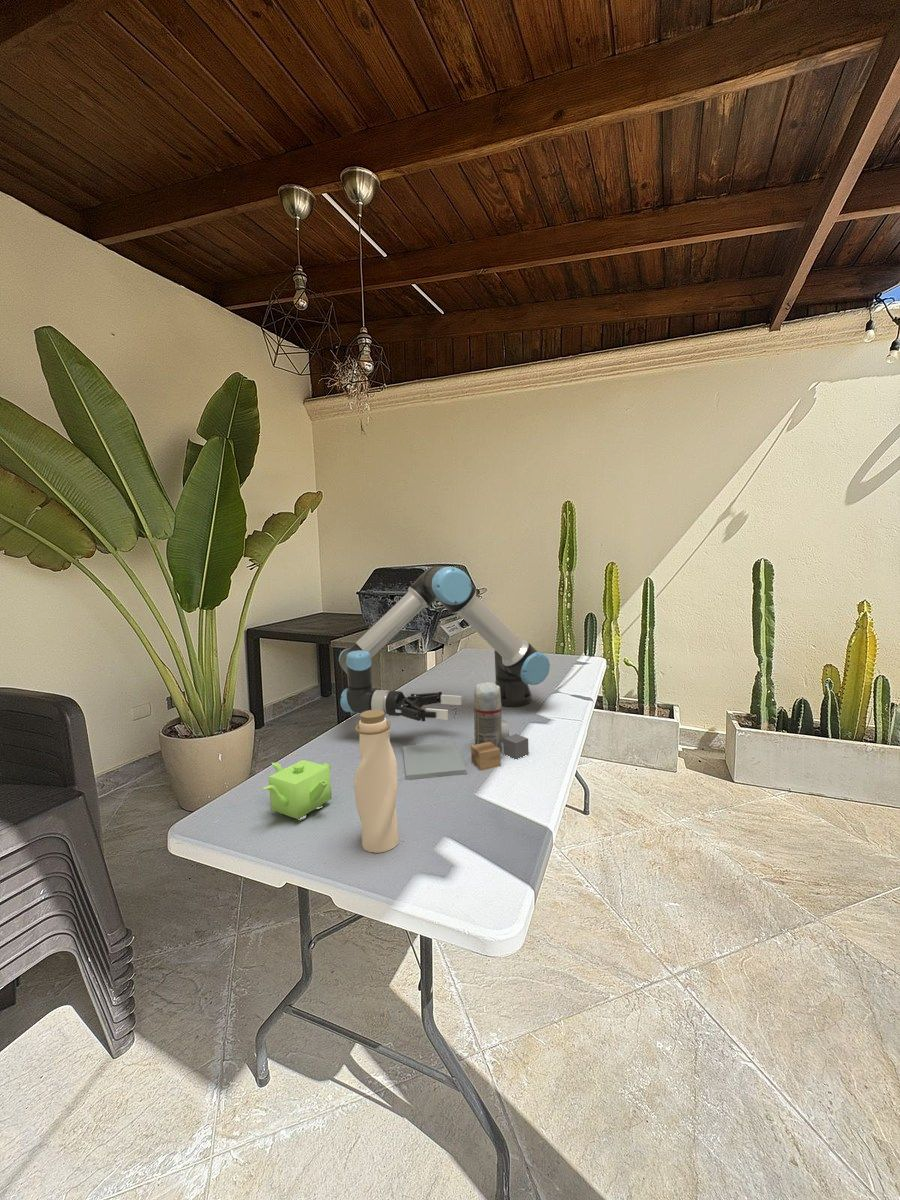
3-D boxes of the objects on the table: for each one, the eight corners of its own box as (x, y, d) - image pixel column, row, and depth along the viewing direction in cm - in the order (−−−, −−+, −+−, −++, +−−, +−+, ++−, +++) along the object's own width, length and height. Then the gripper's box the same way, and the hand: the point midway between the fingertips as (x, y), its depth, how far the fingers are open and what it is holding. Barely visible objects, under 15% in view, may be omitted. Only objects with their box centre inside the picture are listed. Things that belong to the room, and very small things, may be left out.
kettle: (266, 831, 118) (262, 783, 117) (270, 801, 132) (266, 758, 131) (335, 819, 122) (332, 772, 121) (332, 791, 136) (329, 749, 134)
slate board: (403, 750, 160) (402, 746, 160) (455, 745, 162) (455, 741, 162) (406, 779, 140) (406, 775, 140) (466, 773, 142) (466, 769, 142)
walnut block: (471, 762, 149) (470, 745, 149) (490, 758, 152) (490, 741, 151) (480, 771, 144) (480, 753, 143) (500, 766, 146) (500, 749, 146)
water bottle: (360, 828, 117) (352, 706, 114) (401, 825, 118) (394, 703, 115) (356, 856, 107) (347, 722, 104) (401, 852, 108) (393, 719, 105)
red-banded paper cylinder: (506, 746, 159) (504, 681, 157) (497, 757, 152) (495, 689, 149) (480, 743, 163) (478, 679, 160) (470, 753, 155) (467, 687, 153)
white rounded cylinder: (487, 736, 168) (487, 720, 168) (506, 734, 169) (505, 719, 168) (491, 743, 162) (491, 727, 162) (511, 741, 163) (510, 725, 162)
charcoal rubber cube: (503, 754, 154) (503, 738, 153) (516, 750, 157) (515, 733, 156) (516, 760, 150) (515, 743, 149) (528, 755, 153) (528, 738, 152)
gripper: (404, 702, 177) (466, 706, 171) (372, 728, 154) (442, 734, 147) (404, 680, 176) (465, 683, 170) (370, 703, 153) (441, 708, 146)
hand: (454, 707), depth 158 cm, fingers open, 13 cm apart
